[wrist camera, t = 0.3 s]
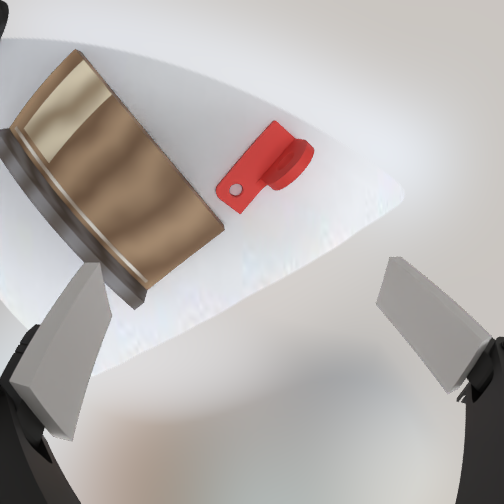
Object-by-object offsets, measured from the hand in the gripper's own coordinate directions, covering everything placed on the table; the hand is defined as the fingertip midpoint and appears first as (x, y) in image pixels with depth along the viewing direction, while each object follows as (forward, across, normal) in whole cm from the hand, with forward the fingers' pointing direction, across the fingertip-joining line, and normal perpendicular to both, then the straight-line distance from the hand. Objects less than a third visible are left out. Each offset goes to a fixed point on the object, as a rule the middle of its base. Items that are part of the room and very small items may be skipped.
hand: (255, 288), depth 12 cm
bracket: (+26, +4, +2) cm, 26 cm away
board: (+25, -16, +2) cm, 30 cm away
